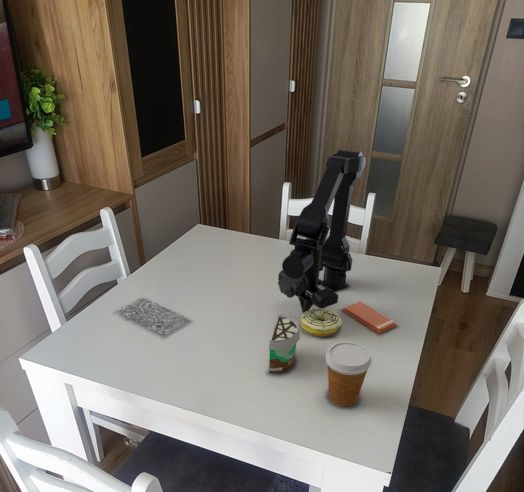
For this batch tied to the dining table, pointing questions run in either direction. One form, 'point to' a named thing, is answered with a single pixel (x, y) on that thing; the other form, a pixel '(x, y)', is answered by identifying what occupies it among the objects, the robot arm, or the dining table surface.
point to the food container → (283, 344)
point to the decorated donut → (320, 322)
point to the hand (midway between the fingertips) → (305, 313)
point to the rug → (152, 316)
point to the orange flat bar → (369, 317)
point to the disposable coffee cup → (346, 372)
